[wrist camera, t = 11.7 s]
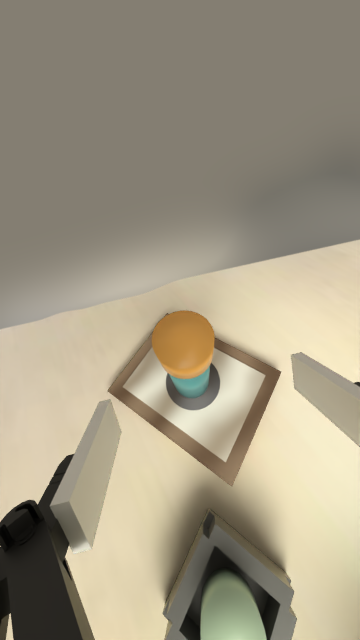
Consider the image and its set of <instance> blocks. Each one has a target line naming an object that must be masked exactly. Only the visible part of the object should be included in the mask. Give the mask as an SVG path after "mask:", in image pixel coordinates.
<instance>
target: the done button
mask: <svg viewBox="0 0 360 640" xmlns="http://www.w3.org/2000/svg"><path fill="white" fill-rule="evenodd" d="M200 634H201V640H267V639H266V634H265V629H264V626H263V623H262V620H261V616H260V613H259V610H258V607H257V604H256V601H255V598H254V595H253V592H252V590H251V588H250V586H249V585H248V583H247V582H246V580H245V579H244V578H243V577H242V576H241V575H240V574H239V573H238V572H236V571H234V570H232V569H229V568H221V569H218V570H216V571H214V572H213V573H212V574H211V575H210V576H209V577H208V579H207V581H206V583H205V585H204V588H203V592H202V598H201V631H200Z"/></svg>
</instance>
